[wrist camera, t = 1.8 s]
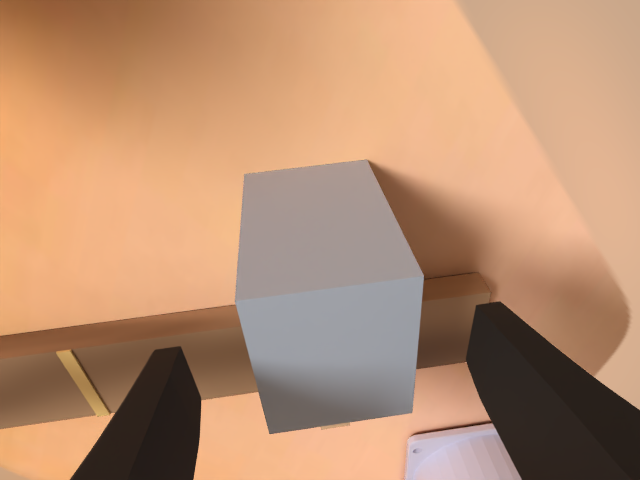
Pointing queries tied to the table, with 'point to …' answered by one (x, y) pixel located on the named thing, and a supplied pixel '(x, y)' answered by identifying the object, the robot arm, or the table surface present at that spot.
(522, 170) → the table surface
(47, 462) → the table surface
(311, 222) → the grey tall block
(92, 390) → the board
